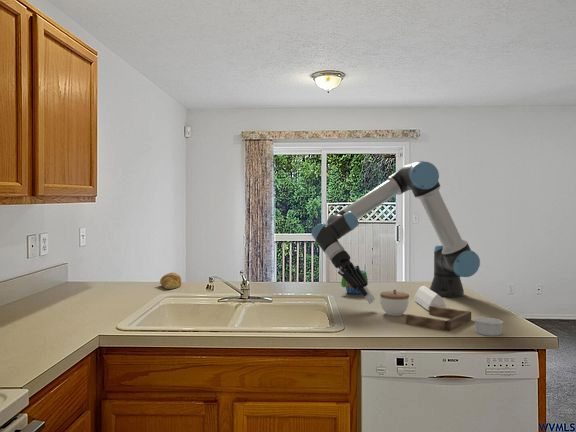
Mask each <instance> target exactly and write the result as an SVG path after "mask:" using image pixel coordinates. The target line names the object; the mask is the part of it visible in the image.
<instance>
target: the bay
mask: <svg viewBox="0 0 576 432" xmlns="http://www.w3.org/2000/svg"><path fill="white" fill-rule="evenodd" d="M428 315H433V316H437V317H438V316H439V317H446V318H449V319H447V320H445V319H439V318H434V317H433V318H432V317H427V316H422V315H421V316H419V315H415V314H408V313H407V314H405V324H408V325H412V326H419V327H422V328H423V327H425V328H429V329H430V328H431V329H433V330H434V329H435V330H440V331H445V330H447V331H446V332H449V331H450V332H451V331H452V330H455V329H456V328H458V327H461V326H462V325H464V324H467V323H469V322H470V321H472V311H470V310H461V309H454V308H449V307H446V308H443V307H437V306H429V311H428Z"/></svg>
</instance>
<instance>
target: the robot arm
mask: <svg viewBox="0 0 576 432" xmlns="http://www.w3.org/2000/svg"><path fill="white" fill-rule="evenodd" d="M439 178H440V173H439V169H438V168H437V167H436V166H435V164H433V163H431V162H429V161H424V160H419V161H415V162H410V163H407V164H405V165H404V166H402V167H400V168H399V169H397V171H395V172H394V173H393V174H391V175H389V176H388V177H387V179H386V181H385V182H383V183H381V184H380V185H377V186H376V187H375V188H373V189H372V190H371V191H369V192H368V193H366V194H364V195H363V196H361V197H360V198H358V199H357V200H355V201H353V202H352V203H351V204H349V205H348V206H346V207H344V208H343V209H341V210H340V211H338V212H336V213H335V214H334V213H333V214H331V215H330V216H329V217H328V218H327V221H326V223H325V222H320V223H318V224H316V225H315V226H314V227H313V228H312V230H311V233H310V234H311V236H312V237H313V239H314V240H315V242H316V243H317V245H318V246H319V247H320V249H321V250H322V251H323V253H324V254H325V255H326V257H327V258H328V259H329V260H330V262H331V263H332V265H333V266H334V267H335V269H338V272H337V273H338V275H340V276H341V278H342V277H343V278H344V279H345V280H346V281H347V282H348V283H349V284H350V285H351V286H352V287H353V288H354V289H355V290H356V289H357V290H356V291H357V292H358V291H360V292H361V293H360V294H362V296H363V297H364V298H365V300H366V301H367V303H368V304H369V305H370V304H372V303H373V302H374V301H375V300H377V299H376V297H375V296H374V295H373V294H372V292H371V291H370V290H369V288H368V285H369V283H367V281H366V279H365V278H364V276H363V274H362V273H361V271H360V270H361V269H360V266H359V265H358V264H357V265H354V264H353V263H352V261H350V260H351V255H350V254H349V253H348V252H347V250H346V249H345V248H344V246H343V245H342V244H341V243H340V241H339V239H341V238H342V237H344V236H346V235H347V234H349V233H350V232H351V231H353V230H355V229H356V228H357V227H359V225H360V223H359V220H360V219H361V218H362V217H365V216H366V215H367V214H369V213H370V212H372V211H373V210H375V209H377V208H378V207H379V206H381V205H383V204H384V203H386V202H387V201H389V200H390V199H392V198H393V197H395V196H396V195H398V196H400V195H402V194H404V193H405V192H408V191H412V194H413V196H414V198H416V199H419V200H420V202H421V205H422V206H423V208H424V211H425V213H426V214H427V216H428V220H429V221H430V223H431V225H432V227H433V229H434V232H435V233H436V236H437V237H438V240H439V242H440V243H441V244H437V245H435V246H434V250H433V251H434V252H433V254H434V255H433V257H434V258H433V279H432V281H431V283H430V287H429V289H430V290H432V291H433V292H435V293H437V294H438V295H439V296H440V297H445V298H447V297H450V298H455V297H456V298H458V297H463V296H464V295H465V290H464V287H463V283H462V279H461V278H470V277H471V276H474V275H475V274H476V273H478V271H479V268H480V265H481V259H480V257H479V255H478V253H476V252H475V251H473V250H472V249H471V247H470V245H469V243H468V241H467V240H464V239H462V237H461V235H460V232H459V231H458V228H457V226H456V224H455V222H454V220H453V217H452V216H451V214H450V212H449V209H448V208H447V205H446V203H445V201H444V199H443V196H442V194H441V192H440V188H441V184H440V182H439Z"/></svg>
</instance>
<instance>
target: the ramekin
mask: <svg viewBox="0 0 576 432" xmlns="http://www.w3.org/2000/svg"><path fill="white" fill-rule="evenodd" d="M474 324H475V325H474V326H475V332H476V333H477V334H479V335H483V336H489V337H496V336H498V335H499V336H500V335H502V334H503V325H504V320H502V319H499V318H494V317H489V316H488V317H486V316H485V317H482V316H481V317H475V318H474ZM499 336H498V337H499Z"/></svg>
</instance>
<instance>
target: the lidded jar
mask: <svg viewBox="0 0 576 432" xmlns="http://www.w3.org/2000/svg"><path fill="white" fill-rule="evenodd" d="M379 296H380V305H381V308H382V310H383V311H384V313H385V314H386V315H387V316H394V317H400V316H402V315H403V314H404V313H405V312H406V311H407V310H408V307H409V301H410V299H409V298H410V294H409V293H407V292H404V291H402V292H401V291H397V289H396V288H394V289H392V290H388V291H382V292H380V293H379Z"/></svg>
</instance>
